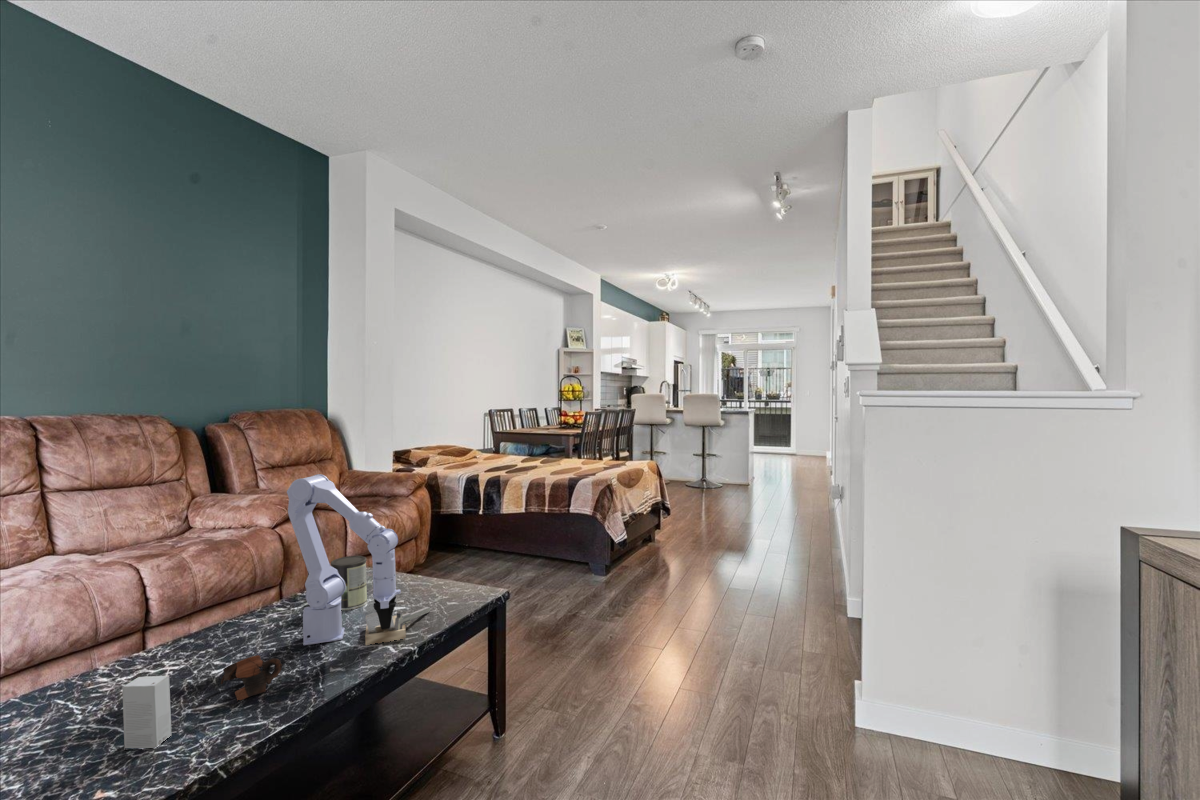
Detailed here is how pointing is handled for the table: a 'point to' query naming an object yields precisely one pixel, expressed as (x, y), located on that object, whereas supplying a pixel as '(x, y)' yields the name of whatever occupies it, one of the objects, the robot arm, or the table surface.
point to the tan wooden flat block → (384, 635)
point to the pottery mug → (252, 675)
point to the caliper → (409, 617)
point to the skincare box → (146, 712)
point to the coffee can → (352, 581)
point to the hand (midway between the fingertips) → (385, 626)
